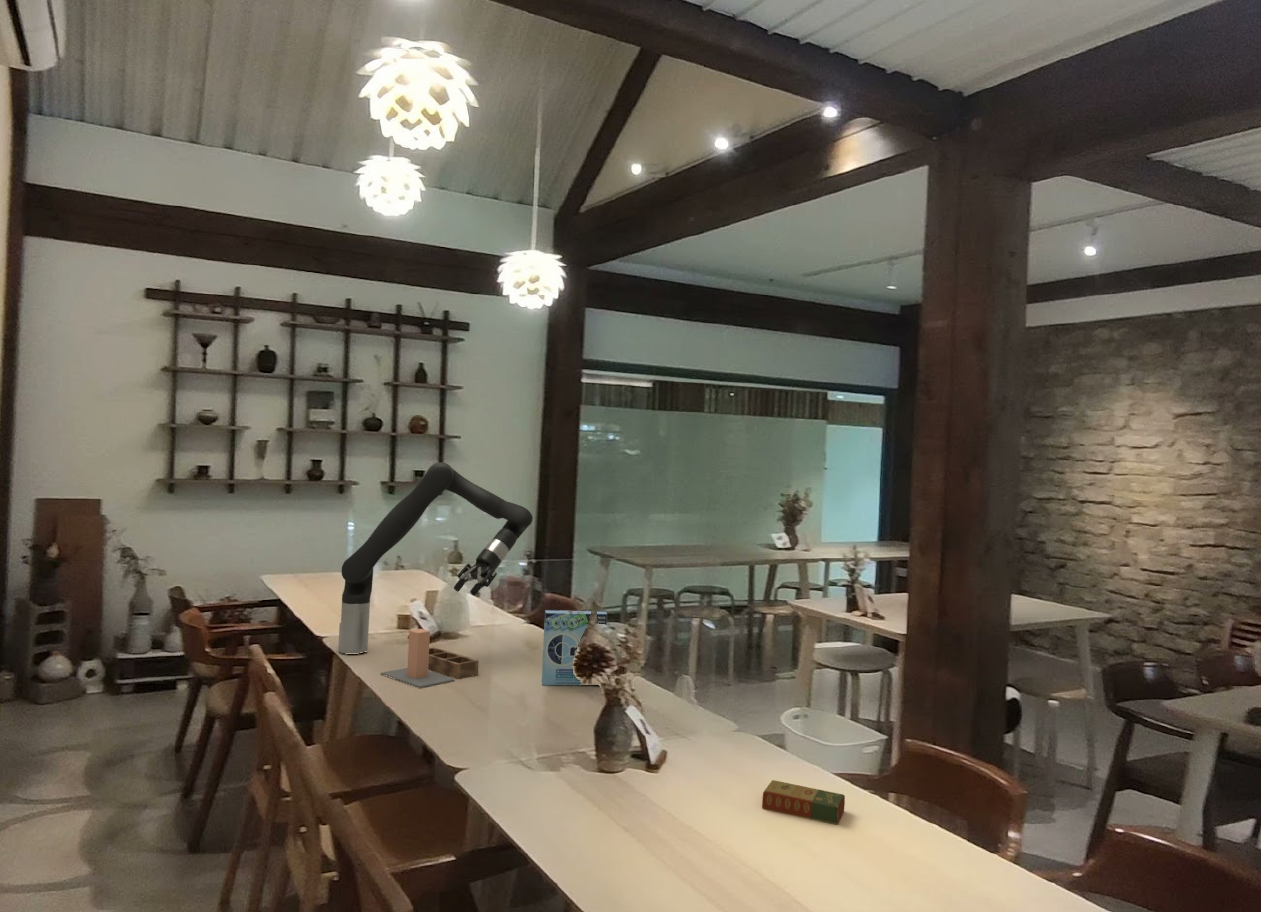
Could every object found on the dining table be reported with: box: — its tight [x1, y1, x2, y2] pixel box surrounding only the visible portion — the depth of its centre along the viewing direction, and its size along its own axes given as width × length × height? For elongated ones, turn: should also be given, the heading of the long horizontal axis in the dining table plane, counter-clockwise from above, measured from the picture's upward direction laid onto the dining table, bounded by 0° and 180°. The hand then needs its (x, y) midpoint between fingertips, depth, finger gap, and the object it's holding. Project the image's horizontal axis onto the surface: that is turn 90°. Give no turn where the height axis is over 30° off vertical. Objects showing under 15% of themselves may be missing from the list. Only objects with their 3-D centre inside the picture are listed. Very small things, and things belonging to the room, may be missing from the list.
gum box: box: [541, 609, 608, 687], centre depth 283 cm, size 20×5×23 cm, turn 98°
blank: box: [406, 628, 431, 678], centre depth 281 cm, size 4×4×14 cm
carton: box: [761, 779, 846, 826], centre depth 193 cm, size 8×16×4 cm, turn 67°
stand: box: [428, 647, 480, 680], centre depth 292 cm, size 23×8×4 cm, turn 50°
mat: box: [380, 667, 456, 689], centre depth 281 cm, size 20×13×1 cm, turn 50°
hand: (463, 591), depth 298 cm, fingers open, 8 cm apart
